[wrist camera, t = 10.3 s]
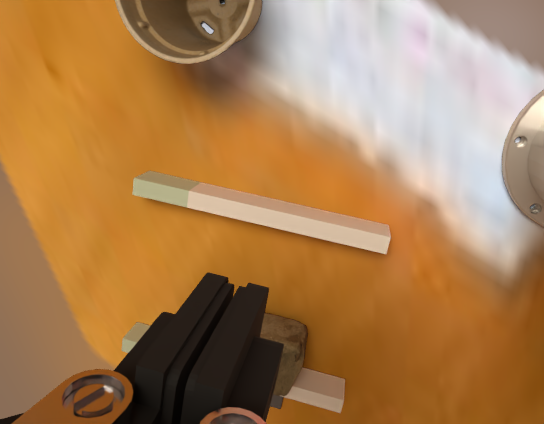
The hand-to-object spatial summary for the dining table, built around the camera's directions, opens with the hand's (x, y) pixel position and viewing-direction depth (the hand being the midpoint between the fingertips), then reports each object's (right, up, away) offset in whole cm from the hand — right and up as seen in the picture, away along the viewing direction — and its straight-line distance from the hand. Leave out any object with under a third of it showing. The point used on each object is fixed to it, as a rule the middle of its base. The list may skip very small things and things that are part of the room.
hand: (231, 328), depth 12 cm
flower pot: (-3, +20, +23) cm, 31 cm away
